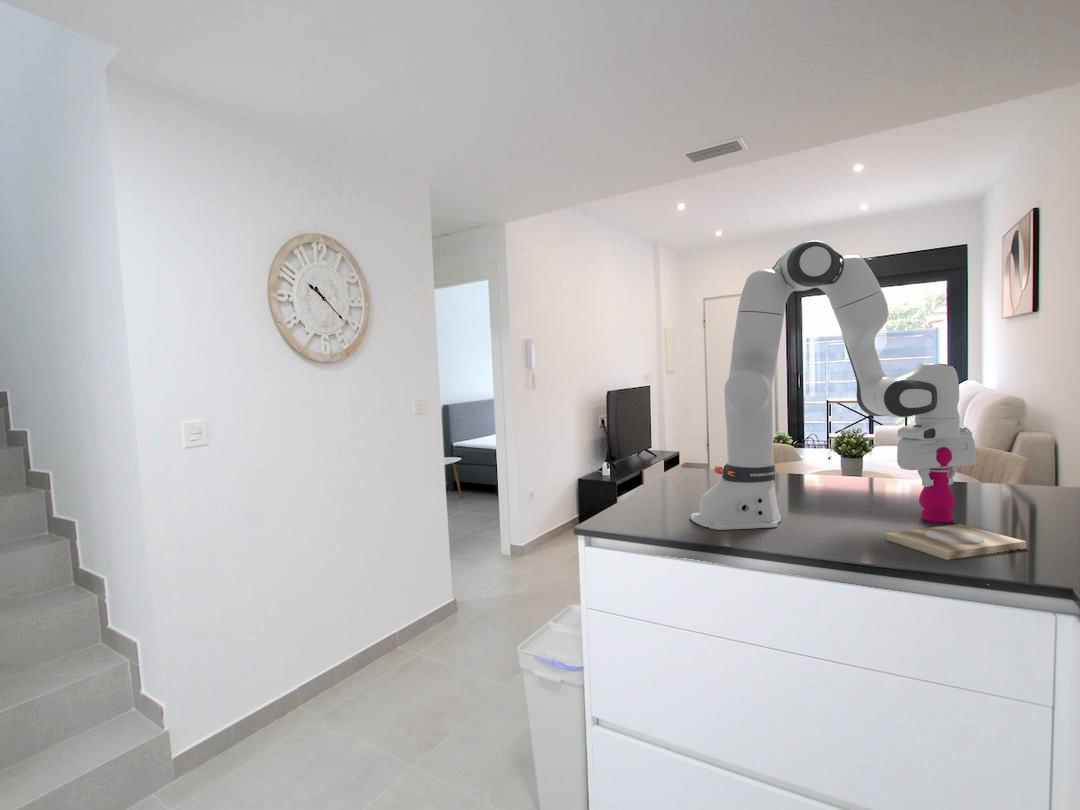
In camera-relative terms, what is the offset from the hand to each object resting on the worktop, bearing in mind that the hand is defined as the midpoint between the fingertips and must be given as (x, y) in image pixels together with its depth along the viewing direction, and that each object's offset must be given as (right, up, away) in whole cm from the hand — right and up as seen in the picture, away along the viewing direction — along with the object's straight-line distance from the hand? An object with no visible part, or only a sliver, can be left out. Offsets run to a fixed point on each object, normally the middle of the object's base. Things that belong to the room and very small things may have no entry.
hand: (937, 485), depth 134 cm
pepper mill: (0, -9, +1) cm, 9 cm away
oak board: (-10, -10, -18) cm, 23 cm away
